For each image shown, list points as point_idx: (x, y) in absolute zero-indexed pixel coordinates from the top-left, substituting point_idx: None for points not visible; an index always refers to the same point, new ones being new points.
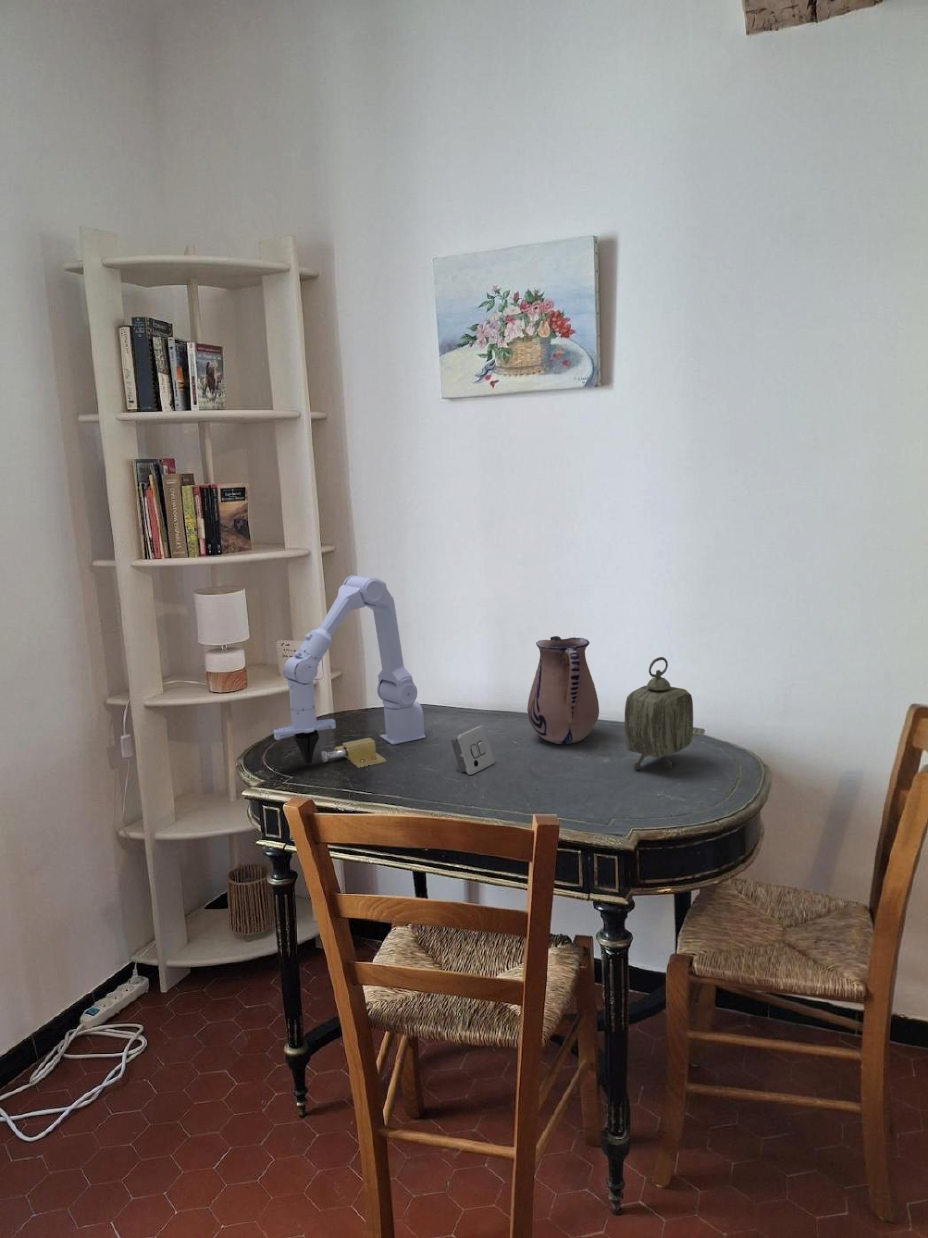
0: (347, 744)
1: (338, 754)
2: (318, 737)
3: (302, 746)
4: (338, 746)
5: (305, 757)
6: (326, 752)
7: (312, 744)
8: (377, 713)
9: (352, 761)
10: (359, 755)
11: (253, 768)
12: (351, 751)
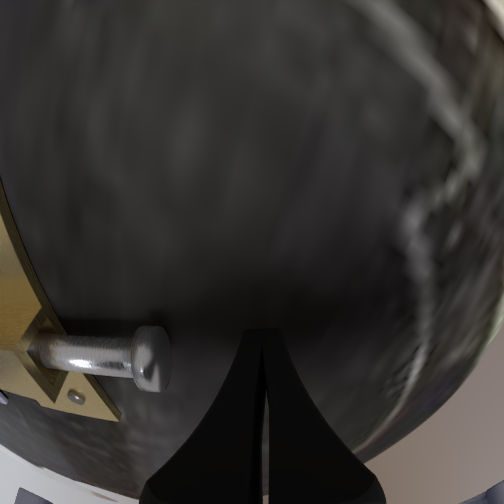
0: (26, 380)
1: (77, 344)
2: (146, 490)
3: (328, 438)
4: (106, 419)
5: (290, 362)
6: (132, 373)
7: (222, 443)
8: (61, 469)
9: (21, 260)
10: (4, 306)
11: (450, 383)
12: (14, 329)
